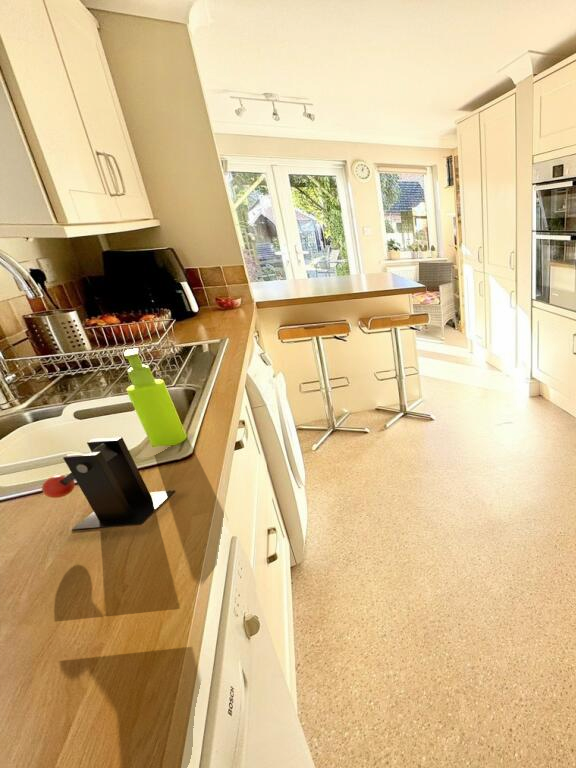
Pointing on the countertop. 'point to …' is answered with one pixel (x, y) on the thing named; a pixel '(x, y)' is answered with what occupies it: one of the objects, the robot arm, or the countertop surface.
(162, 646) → the countertop surface
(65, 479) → the lever
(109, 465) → the bracket
